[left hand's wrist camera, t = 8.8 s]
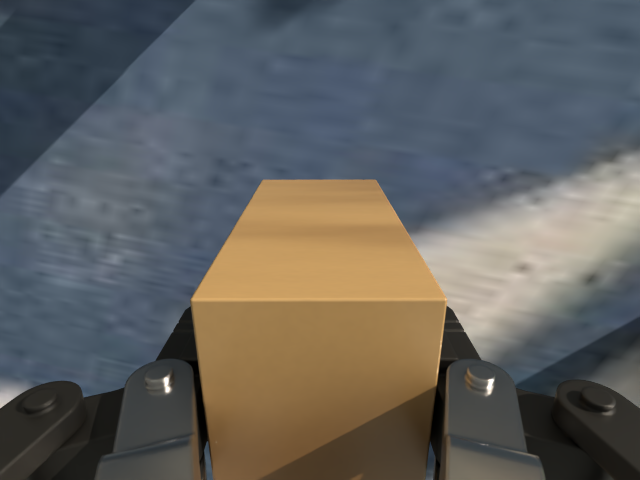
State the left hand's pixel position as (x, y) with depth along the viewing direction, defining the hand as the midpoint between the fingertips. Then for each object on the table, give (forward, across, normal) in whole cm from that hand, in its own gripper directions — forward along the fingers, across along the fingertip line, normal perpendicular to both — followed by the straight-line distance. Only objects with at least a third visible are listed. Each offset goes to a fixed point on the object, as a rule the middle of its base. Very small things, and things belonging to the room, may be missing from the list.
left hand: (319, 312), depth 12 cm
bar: (+5, 0, -10) cm, 11 cm away
